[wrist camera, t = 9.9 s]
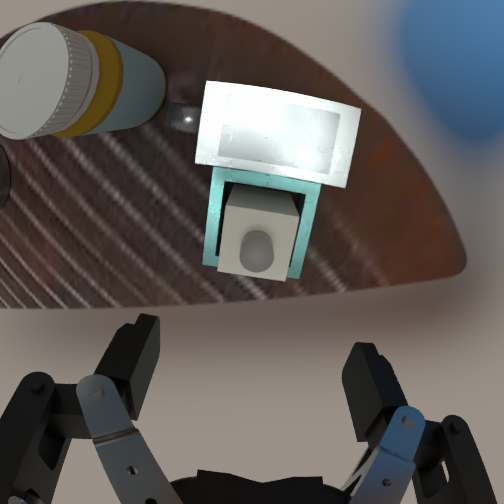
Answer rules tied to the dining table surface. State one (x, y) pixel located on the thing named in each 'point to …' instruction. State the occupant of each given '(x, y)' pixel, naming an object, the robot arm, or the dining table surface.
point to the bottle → (74, 83)
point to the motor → (267, 149)
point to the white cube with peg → (258, 233)
